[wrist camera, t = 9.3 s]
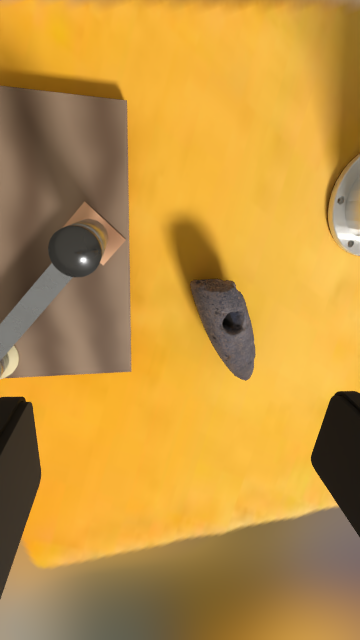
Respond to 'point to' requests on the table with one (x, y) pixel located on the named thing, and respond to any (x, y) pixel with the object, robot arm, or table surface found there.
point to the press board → (60, 211)
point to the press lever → (55, 277)
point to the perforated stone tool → (226, 323)
